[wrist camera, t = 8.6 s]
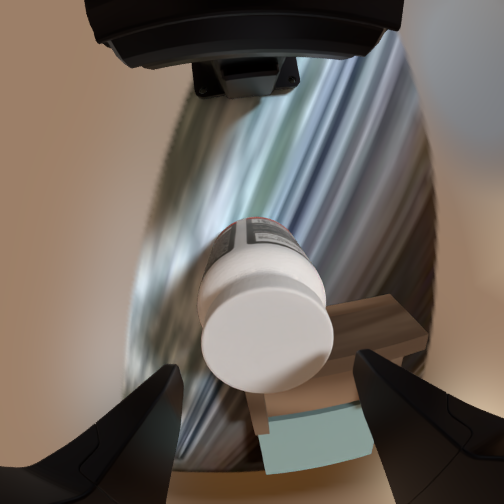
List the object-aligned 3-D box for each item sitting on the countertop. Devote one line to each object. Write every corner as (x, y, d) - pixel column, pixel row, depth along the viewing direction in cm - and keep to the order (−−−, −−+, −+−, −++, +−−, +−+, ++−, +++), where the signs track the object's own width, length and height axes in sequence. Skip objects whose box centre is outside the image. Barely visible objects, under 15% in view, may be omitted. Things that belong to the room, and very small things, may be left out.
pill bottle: (234, 307, 20) (227, 416, 10) (198, 236, 18) (152, 311, 9) (309, 277, 19) (359, 371, 10) (279, 201, 17) (320, 243, 8)
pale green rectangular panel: (255, 423, 22) (266, 474, 23) (380, 398, 22) (371, 453, 23) (255, 415, 23) (265, 467, 24) (376, 392, 23) (368, 447, 24)
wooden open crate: (236, 319, 20) (233, 374, 14) (389, 293, 20) (428, 334, 14) (254, 406, 23) (256, 458, 17) (376, 383, 23) (399, 427, 17)
